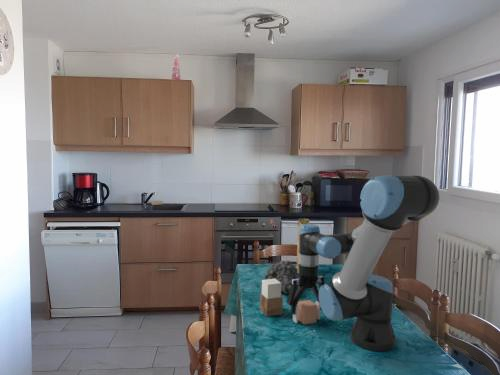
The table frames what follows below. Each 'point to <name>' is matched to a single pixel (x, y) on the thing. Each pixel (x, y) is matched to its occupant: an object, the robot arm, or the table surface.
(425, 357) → the table surface
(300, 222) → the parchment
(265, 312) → the walnut base cube
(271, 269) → the rock
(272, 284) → the cream top cube
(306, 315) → the terracotta block
